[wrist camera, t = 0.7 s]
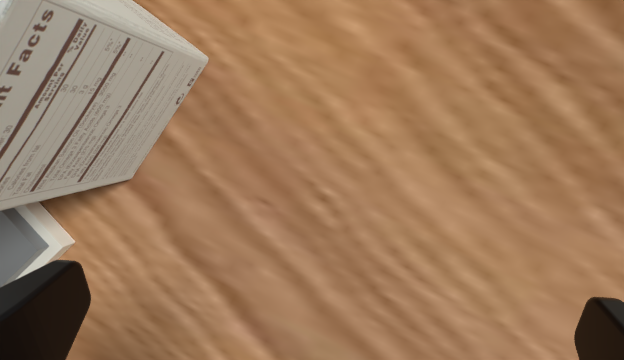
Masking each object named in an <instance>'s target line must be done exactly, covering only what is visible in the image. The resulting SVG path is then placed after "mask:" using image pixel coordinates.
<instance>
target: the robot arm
mask: <svg viewBox="0 0 624 360" xmlns="http://www.w3.org/2000/svg"><path fill="white" fill-rule="evenodd" d="M90 301H91V294H90V290H89V287H88V284H87V281H86V278H85V274H84V271H83V268H82V266H81V264H80V263H79V262H76V261H69V260H55V261H52V262H50V263H48V264H46V265H44V266H42V267H40V268H38V269H36V270H34V271H32V272H30V273H28V274H26V275H24V276H22V277H20V278H18V279H16V280H14V281H12V282H10V283H8V284H6V285H4V286H2V287H0V360H66V357H67V355H68V353H69V351H70V349H71V346H72V344H73V342H74V340H75V338H76V335H77V333H78V331H79V329H80V327H81V324H82V322H83V320H84V318H85V315H86V313H87V311H88V309H89V306H90ZM574 340H575V346H576V350H577V353H578V356H579V360H624V302H622V301H621V300H619V299H615V298H604V297H592V298H590V299H589V300H588V301H587V303H586V305H585V307H584V310H583V312H582V315H581V318H580V320H579V323H578V325H577V328H576V330H575V336H574Z"/></svg>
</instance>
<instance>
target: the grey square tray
mask: <svg viewBox="0 0 624 360" xmlns="http://www.w3.org/2000/svg"><path fill="white" fill-rule="evenodd" d="M74 243H75V241H74V240H73V239H72V237H71V236H70V235H69V234H68V233H67V232H66V231H65V230H64V229H63V228H62V227H61V226H60V224H59V223H58V222H57V221H56V220H55V219H54V218H53V217H52V216H51V215H50V214H49V212H48V211H47V210H46V209H45V208H44V207H43V206H42V205H41V204H40V203H39V202H34V203H30V204H26V205H22V206H18V207H14V208H10V209H6V210H2V211H0V287H2V286H4V285H6V284H8V283H10V282H12V281H14V280H16V279H18V278H20V277H22V276H24V275H26V274H28V273H30V272H32V271H34V270H36V269H38V268H40V267H42V266H44V265H46V264H48V263H50V262H52V261H55V260H57V259H59V258H60V257H61V256H62V255H63V254H64V253H65V252H66V251H67V250H68V249H69V248H70V247H71V246H72V245H73V244H74Z"/></svg>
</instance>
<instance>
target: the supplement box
mask: <svg viewBox="0 0 624 360" xmlns="http://www.w3.org/2000/svg"><path fill="white" fill-rule="evenodd" d="M208 60H209V59H208V57H207V56H206V55H205V54H203V53H202V52H201V51H200V50H198V49H197V48H196V47H194V46H193V45H192V44H191V43H189V42H188V41H187V40H185V39H184V38H183V37H181V36H180V35H179V34H177V33H176V32H175V31H173V30H172V29H170V28H169V27H168V26H166V25H165V24H164V23H163V22H161V21H160V20H159V19H157V18H156V17H155V16H153V15H152V14H151V13H149V12H148V11H147V10H145V9H144V8H142V7H141V6H140V5H138V4H137V3H135V2H134V1H132V0H0V211H2V210H6V209H10V208H14V207H18V206H22V205H26V204H30V203H34V202H38V201H43V200H47V199H51V198H55V197H60V196H63V195H67V194H72V193H76V192H81V191H85V190H88V189H92V188H97V187H101V186H105V185H109V184H113V183H117V182H122V181H126V180H129V179H131V178H132V177H133V176H134V174H135V172H136V171H137V169H138V168H139V166H140V165H141V163H142V162H143V160H144V159H145V157H146V156H147V154H148V153H149V151H150V150H151V148H152V147H153V145H154V144H155V142H156V141H157V139H158V137H159V136H160V135H161V133H162V131H163V130H164V128H165V127H166V126H167V124H168V122H169V121H170V119H171V118H172V116H173V115H174V113H175V112H176V110H177V109H178V107H179V106H180V104H181V103H182V101H183V100H184V98H185V97H186V95H187V94H188V92H189V90H190V89H191V87H192V86H193V84H194V83H195V81H196V79H197V78H198V76H199V75H200V73H201V72H202V70H203V69H204V67H205V66H206V64H207V62H208Z"/></svg>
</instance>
